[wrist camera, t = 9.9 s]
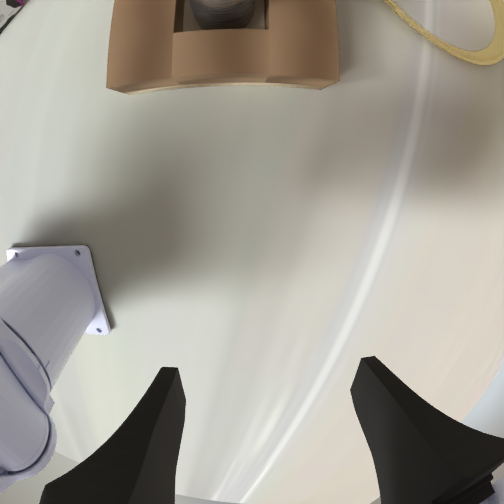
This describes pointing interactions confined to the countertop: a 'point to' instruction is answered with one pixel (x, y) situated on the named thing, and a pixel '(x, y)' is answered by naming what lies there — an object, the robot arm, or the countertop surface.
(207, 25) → the pin
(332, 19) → the socket block
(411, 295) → the countertop surface
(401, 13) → the yellow rubber band
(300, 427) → the countertop surface
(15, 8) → the candy bar box
